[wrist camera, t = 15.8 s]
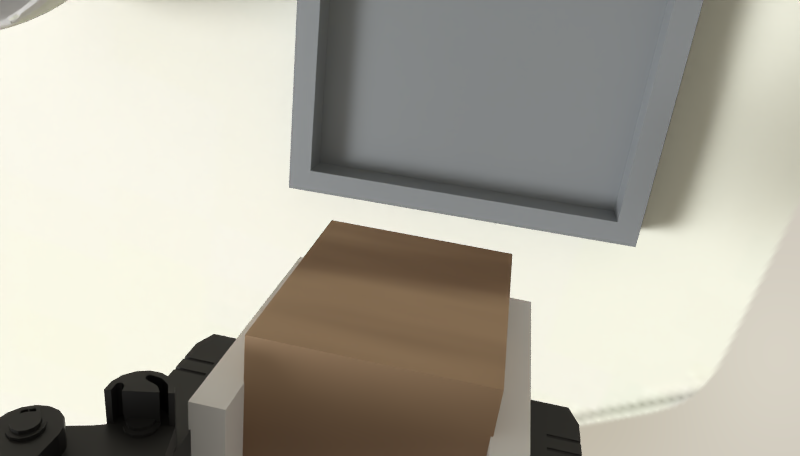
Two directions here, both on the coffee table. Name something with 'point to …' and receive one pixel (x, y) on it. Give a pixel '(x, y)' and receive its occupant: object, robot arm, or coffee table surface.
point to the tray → (490, 107)
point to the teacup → (24, 10)
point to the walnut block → (379, 349)
